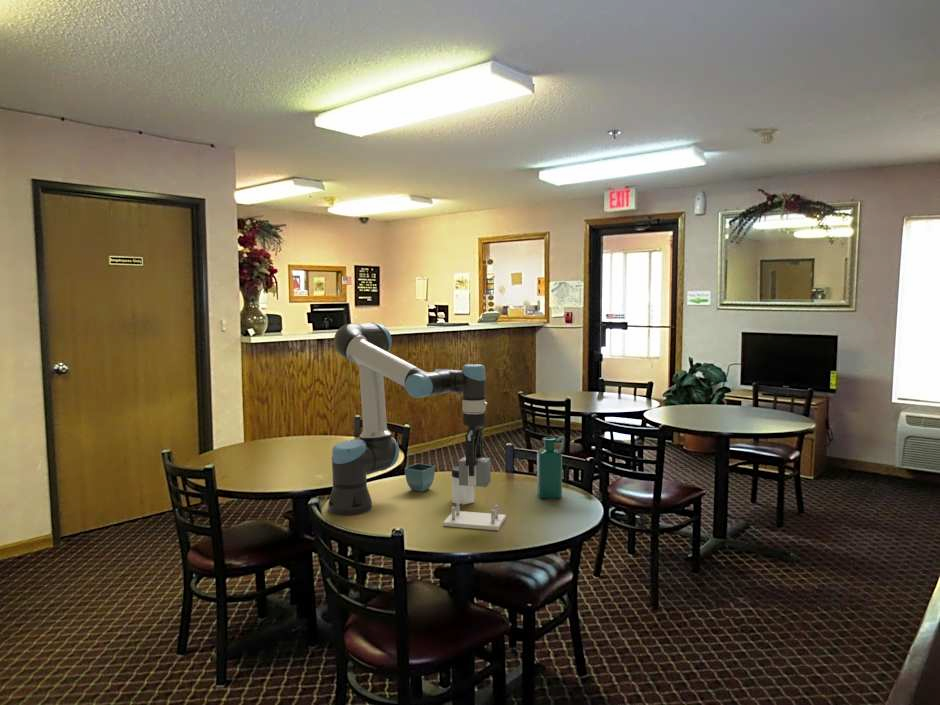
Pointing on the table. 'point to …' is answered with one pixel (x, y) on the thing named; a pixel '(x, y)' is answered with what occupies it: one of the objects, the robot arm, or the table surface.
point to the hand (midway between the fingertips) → (474, 482)
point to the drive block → (482, 472)
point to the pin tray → (475, 519)
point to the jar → (461, 489)
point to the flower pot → (420, 476)
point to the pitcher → (550, 469)
